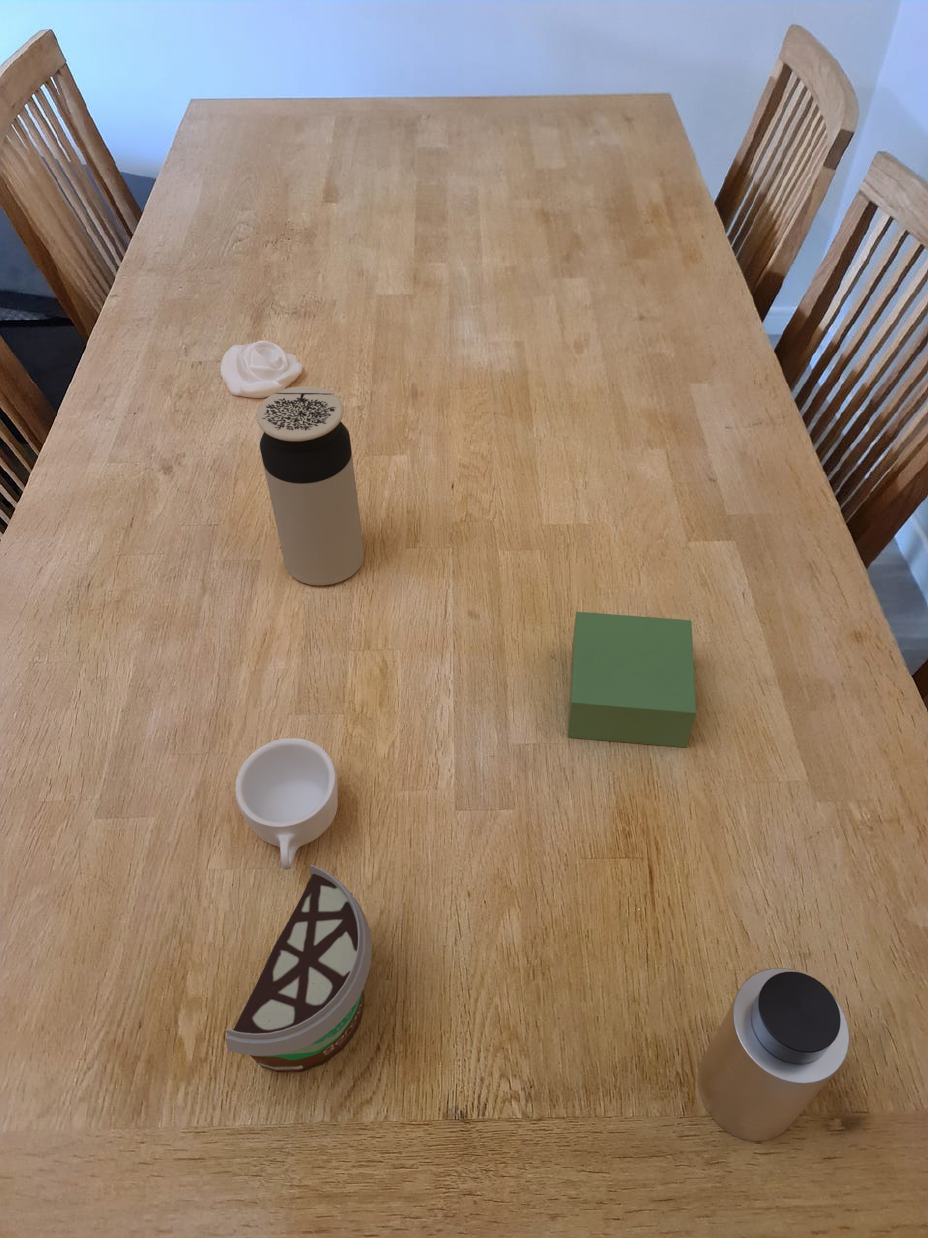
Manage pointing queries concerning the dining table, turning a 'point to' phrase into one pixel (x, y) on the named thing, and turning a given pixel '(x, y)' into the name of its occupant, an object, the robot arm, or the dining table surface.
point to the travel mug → (311, 484)
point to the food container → (309, 983)
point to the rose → (258, 369)
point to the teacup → (288, 794)
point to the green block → (632, 679)
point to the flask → (772, 1053)
